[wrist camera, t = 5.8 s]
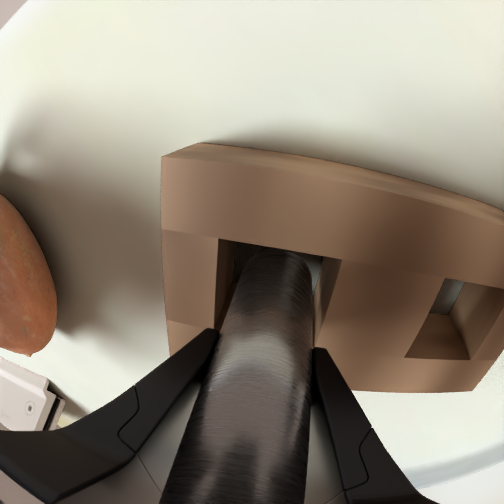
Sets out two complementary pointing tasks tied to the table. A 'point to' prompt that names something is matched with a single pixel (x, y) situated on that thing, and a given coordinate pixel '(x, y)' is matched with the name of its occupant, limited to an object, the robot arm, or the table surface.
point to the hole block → (340, 261)
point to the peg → (253, 395)
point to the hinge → (27, 400)
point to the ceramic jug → (24, 287)
